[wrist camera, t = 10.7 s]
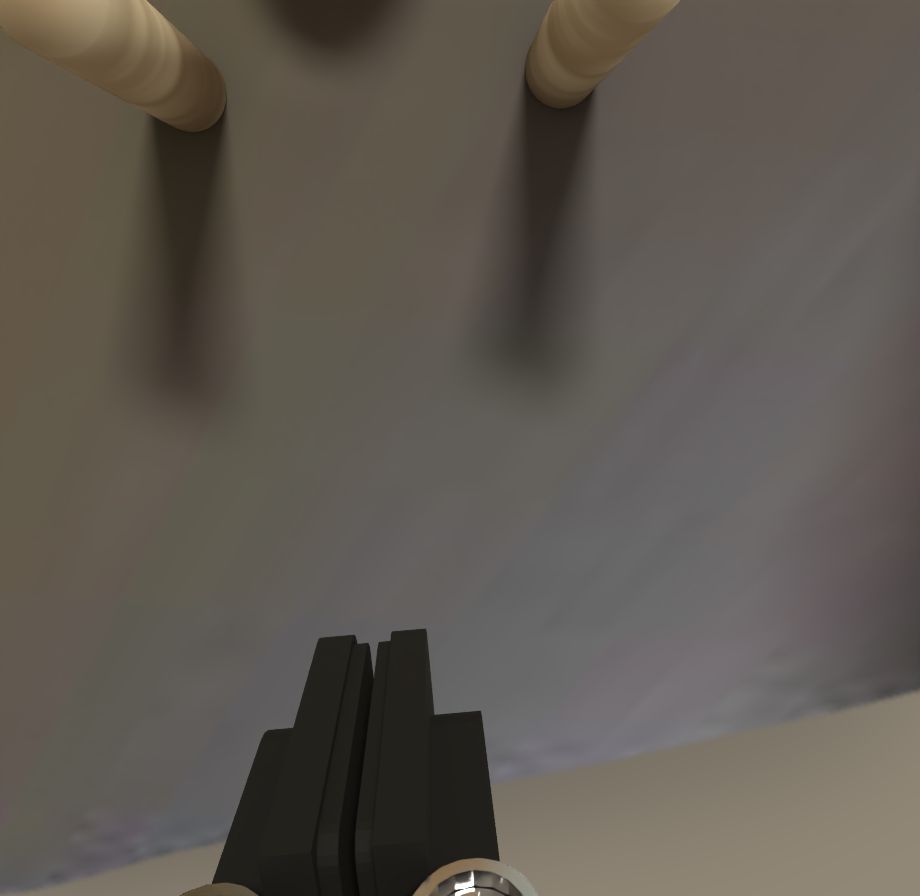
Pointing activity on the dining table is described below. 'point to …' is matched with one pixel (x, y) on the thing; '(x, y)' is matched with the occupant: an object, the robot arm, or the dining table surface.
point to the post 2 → (586, 45)
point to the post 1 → (123, 55)
